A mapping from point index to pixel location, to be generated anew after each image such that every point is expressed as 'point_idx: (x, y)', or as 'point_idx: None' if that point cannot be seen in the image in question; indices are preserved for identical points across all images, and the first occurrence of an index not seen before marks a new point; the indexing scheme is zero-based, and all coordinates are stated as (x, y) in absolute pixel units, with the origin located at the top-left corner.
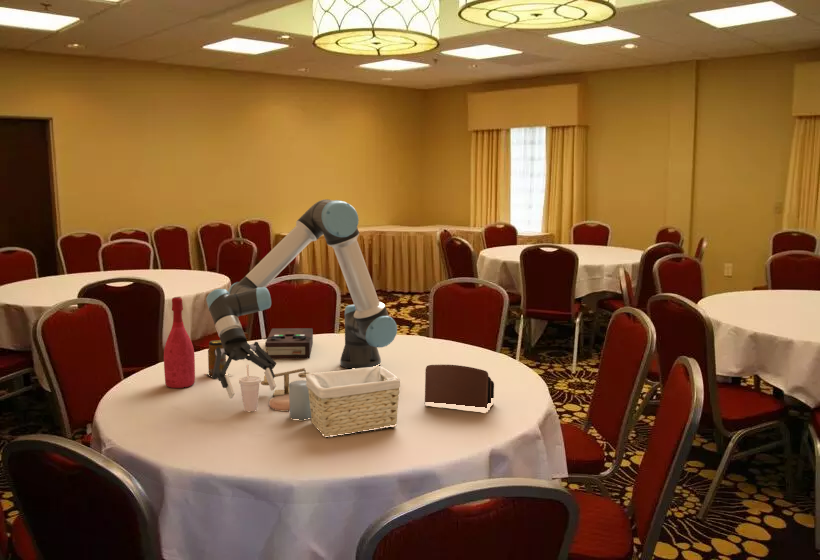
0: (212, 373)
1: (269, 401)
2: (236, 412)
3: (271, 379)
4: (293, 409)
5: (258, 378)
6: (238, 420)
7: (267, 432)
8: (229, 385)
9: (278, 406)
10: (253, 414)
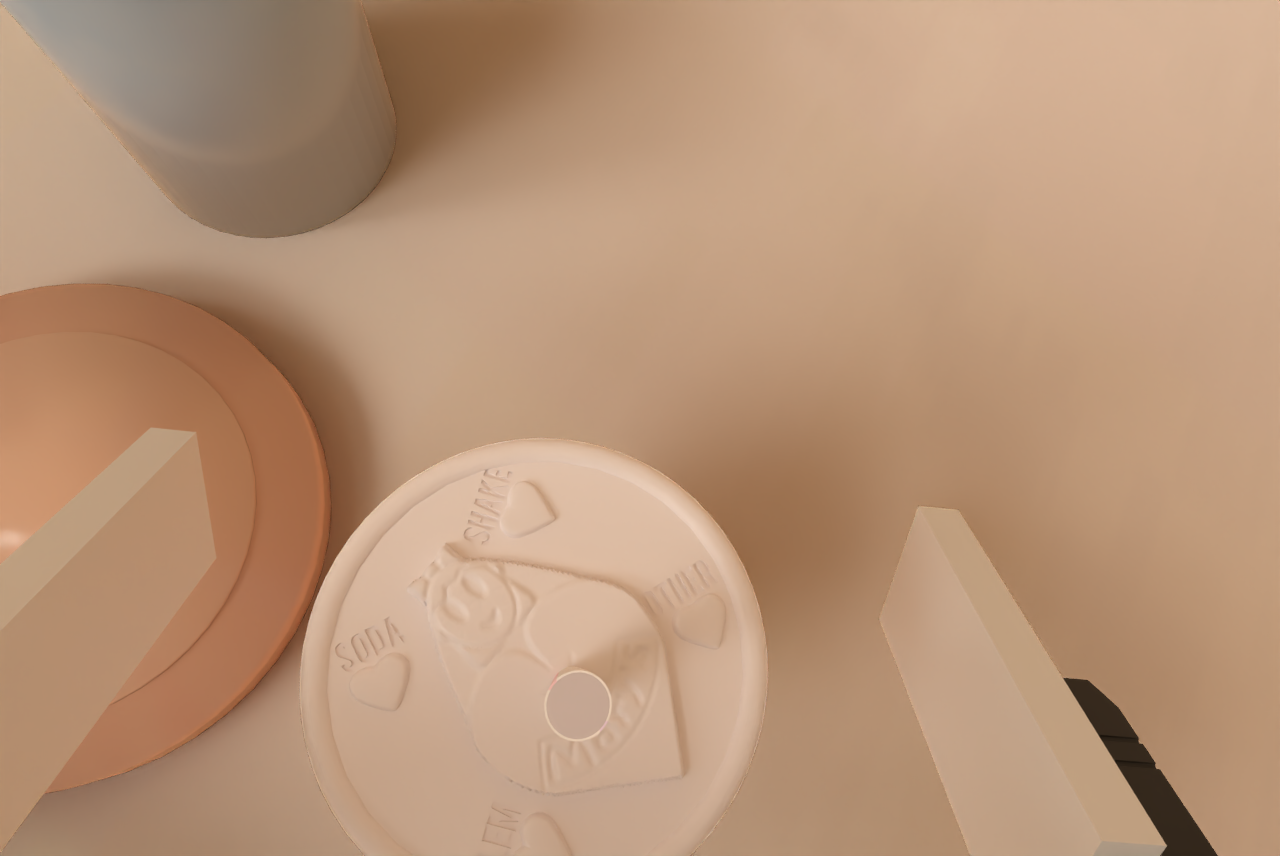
0: None
1: (253, 666)
2: None
3: (115, 509)
4: (369, 33)
5: (360, 594)
6: (821, 442)
7: (755, 28)
8: (1019, 618)
9: (304, 418)
10: None
